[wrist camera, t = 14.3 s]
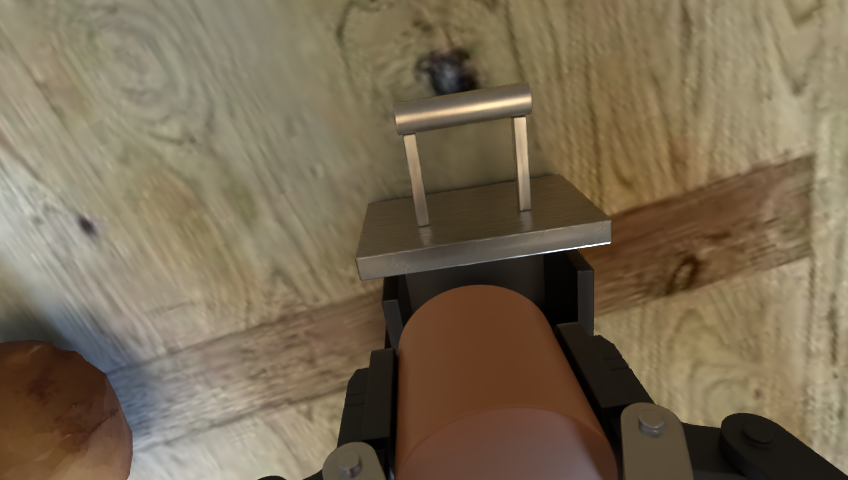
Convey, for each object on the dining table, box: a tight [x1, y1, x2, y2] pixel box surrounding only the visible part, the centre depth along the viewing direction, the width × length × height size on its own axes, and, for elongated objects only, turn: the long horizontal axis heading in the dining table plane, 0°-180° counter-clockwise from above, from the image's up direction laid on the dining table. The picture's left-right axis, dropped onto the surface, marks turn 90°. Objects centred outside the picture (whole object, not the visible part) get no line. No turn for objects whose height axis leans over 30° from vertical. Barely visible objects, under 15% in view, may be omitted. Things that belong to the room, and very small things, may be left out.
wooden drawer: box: [355, 82, 612, 358], centre depth 25 cm, size 19×11×7 cm, turn 9°
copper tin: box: [394, 285, 618, 480], centre depth 12 cm, size 5×5×5 cm
